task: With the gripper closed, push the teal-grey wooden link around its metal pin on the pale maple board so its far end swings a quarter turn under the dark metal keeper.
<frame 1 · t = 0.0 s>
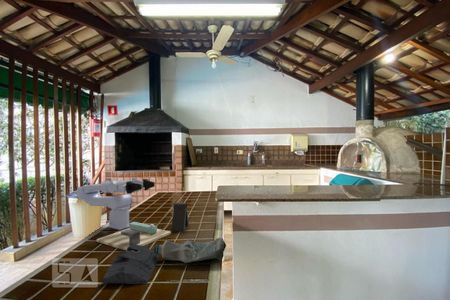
hand: (147, 185, 113), 22 cm above the counter, fingers open, 7 cm apart
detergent: (190, 259, 86), on the counter
phone stand: (180, 228, 120), on the counter
dark grey cloth: (132, 269, 80), on the counter
keeper board: (135, 237, 107), on the counter
link: (143, 226, 113), point 3 cm above the counter, hinge at 90.0°
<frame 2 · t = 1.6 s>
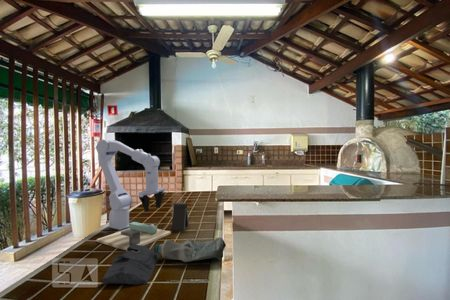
hand: (152, 209, 119), 9 cm above the counter, fingers open, 7 cm apart
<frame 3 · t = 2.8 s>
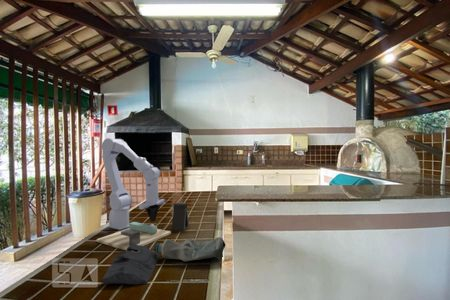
hand: (152, 221, 119), 4 cm above the counter, fingers closed
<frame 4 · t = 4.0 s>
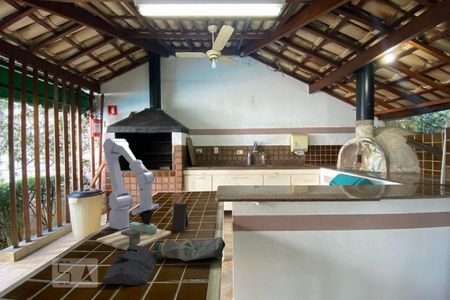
hand: (146, 226, 115), 2 cm above the counter, fingers closed
link: (143, 226, 113), point 3 cm above the counter, hinge at 90.0°, touching gripper
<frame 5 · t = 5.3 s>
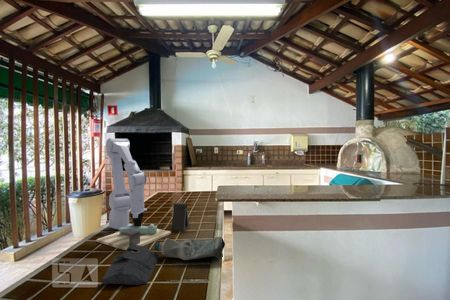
hand: (137, 229, 111), 2 cm above the counter, fingers closed, pressing on link
link: (138, 228, 109), point 3 cm above the counter, hinge at 54.4°, touching gripper
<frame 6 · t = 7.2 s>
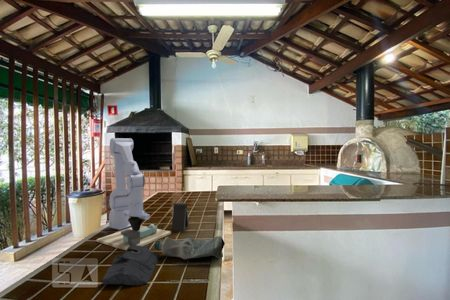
hand: (136, 234, 106), 2 cm above the counter, fingers closed
link: (141, 232, 105), point 3 cm above the counter, hinge at 1.6°, touching gripper
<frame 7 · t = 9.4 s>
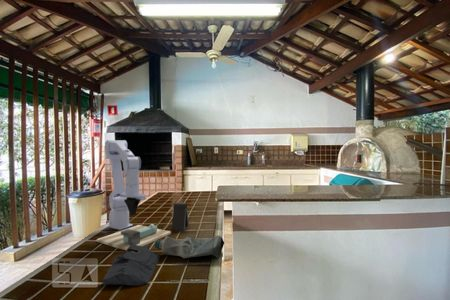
hand: (132, 214, 110), 9 cm above the counter, fingers closed
link: (141, 232, 105), point 3 cm above the counter, hinge at 1.4°
at the end: link at +1° (first picture: +90°); phone stand moved 0.2 cm from its start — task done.
